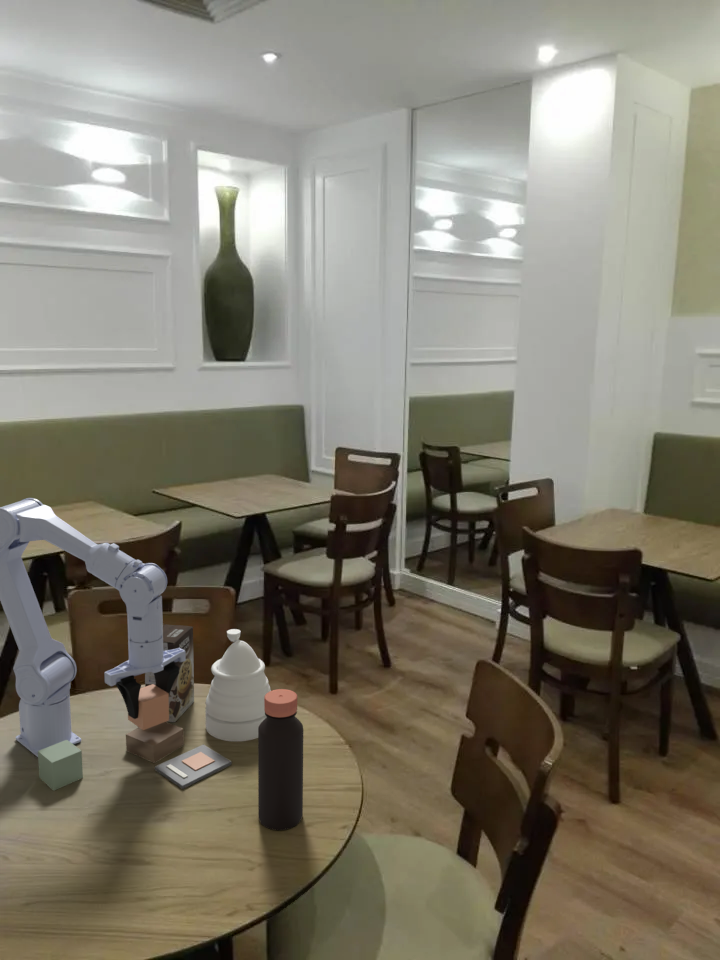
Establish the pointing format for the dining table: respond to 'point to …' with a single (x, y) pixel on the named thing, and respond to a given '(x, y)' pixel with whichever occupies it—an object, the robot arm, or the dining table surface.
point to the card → (192, 766)
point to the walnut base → (155, 741)
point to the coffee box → (184, 682)
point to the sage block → (60, 764)
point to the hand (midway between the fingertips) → (147, 710)
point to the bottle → (280, 762)
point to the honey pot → (236, 693)
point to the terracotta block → (151, 707)
